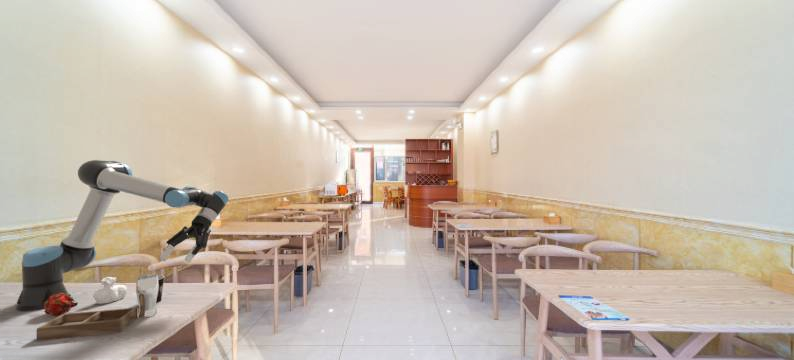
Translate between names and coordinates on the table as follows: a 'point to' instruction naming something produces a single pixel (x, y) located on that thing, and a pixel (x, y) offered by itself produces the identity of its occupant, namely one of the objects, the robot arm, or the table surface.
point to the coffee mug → (160, 288)
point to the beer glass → (147, 295)
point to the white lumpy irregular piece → (110, 291)
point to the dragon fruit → (59, 304)
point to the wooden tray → (87, 323)
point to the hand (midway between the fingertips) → (174, 260)
